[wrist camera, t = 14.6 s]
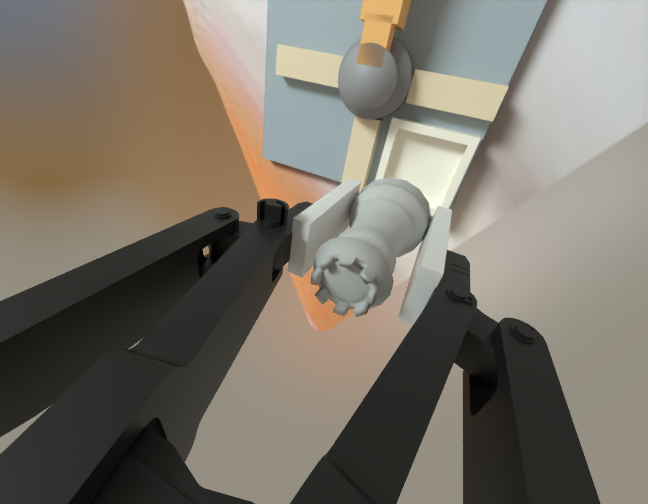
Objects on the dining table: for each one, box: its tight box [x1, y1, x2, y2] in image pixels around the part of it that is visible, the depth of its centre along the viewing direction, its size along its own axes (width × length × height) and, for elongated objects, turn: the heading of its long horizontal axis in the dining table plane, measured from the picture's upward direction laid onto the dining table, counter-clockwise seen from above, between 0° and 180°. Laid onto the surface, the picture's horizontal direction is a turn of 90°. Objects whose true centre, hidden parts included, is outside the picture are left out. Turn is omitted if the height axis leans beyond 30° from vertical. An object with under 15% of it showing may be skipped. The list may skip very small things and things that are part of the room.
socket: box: [375, 117, 481, 216], centre depth 26 cm, size 7×7×2 cm
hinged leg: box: [340, 0, 411, 110], centre depth 20 cm, size 12×4×2 cm, turn 169°
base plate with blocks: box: [263, 0, 547, 209], centre depth 24 cm, size 20×22×4 cm
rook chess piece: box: [311, 177, 431, 317], centre depth 13 cm, size 4×4×8 cm
